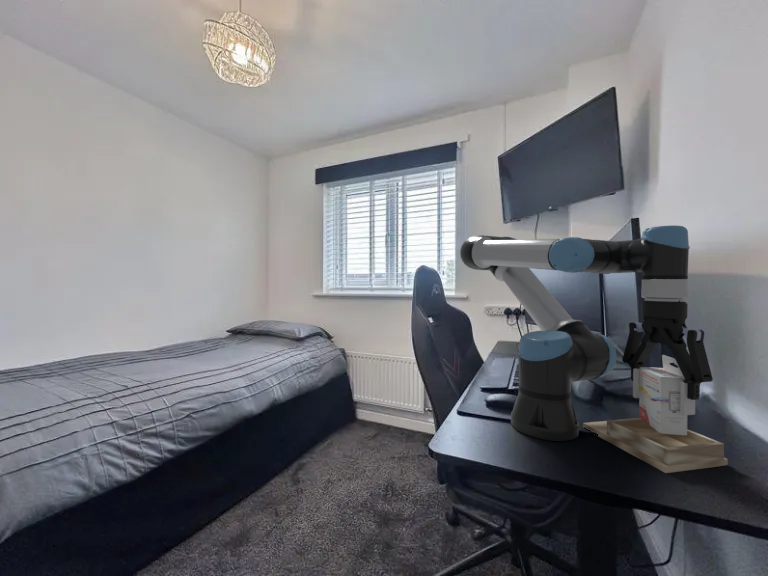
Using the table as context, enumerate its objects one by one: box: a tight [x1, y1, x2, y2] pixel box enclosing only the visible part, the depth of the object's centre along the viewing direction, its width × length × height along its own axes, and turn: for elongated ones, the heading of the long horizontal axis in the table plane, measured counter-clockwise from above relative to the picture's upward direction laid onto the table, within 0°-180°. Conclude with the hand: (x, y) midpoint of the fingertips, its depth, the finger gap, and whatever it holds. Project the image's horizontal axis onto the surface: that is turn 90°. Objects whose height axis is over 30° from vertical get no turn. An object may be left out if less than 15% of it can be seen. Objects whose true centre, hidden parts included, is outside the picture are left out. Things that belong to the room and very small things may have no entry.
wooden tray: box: [582, 417, 729, 474], centre depth 74 cm, size 20×15×4 cm
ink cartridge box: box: [638, 354, 688, 435], centre depth 71 cm, size 9×5×15 cm, turn 168°
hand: (661, 405), depth 71 cm, fingers closed on ink cartridge box, 9 cm apart
